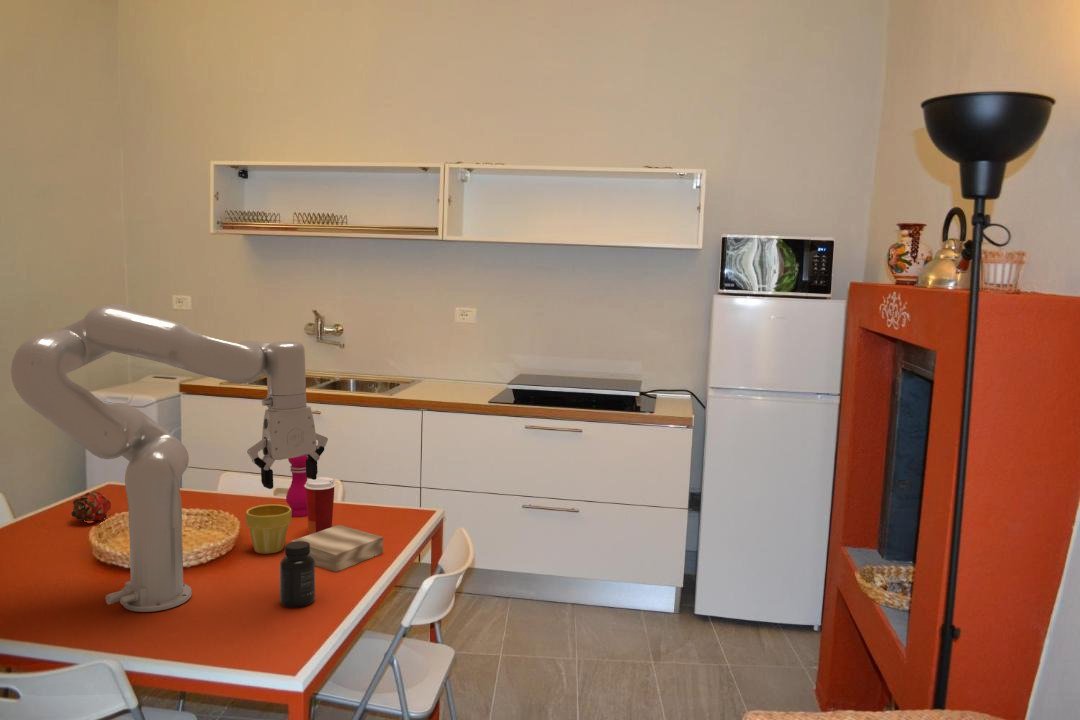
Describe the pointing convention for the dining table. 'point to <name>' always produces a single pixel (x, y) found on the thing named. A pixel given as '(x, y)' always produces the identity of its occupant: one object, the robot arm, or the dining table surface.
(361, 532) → the beech block
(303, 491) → the pepper mill
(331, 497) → the paper cup
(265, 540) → the plant pot
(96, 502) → the dragon fruit
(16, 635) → the dining table surface
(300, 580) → the supplement bottle
